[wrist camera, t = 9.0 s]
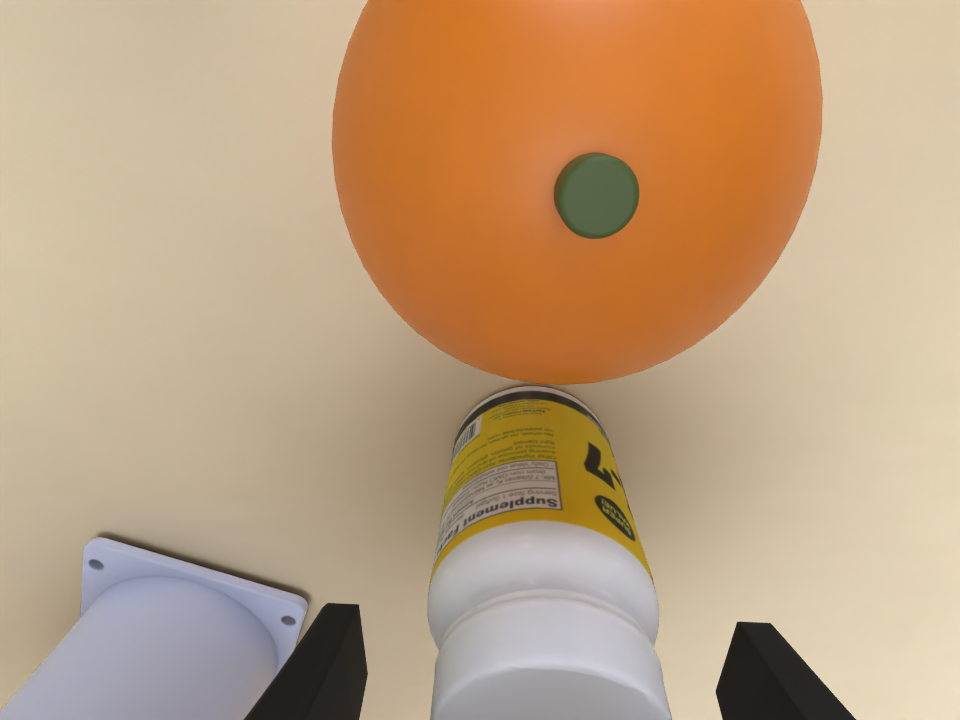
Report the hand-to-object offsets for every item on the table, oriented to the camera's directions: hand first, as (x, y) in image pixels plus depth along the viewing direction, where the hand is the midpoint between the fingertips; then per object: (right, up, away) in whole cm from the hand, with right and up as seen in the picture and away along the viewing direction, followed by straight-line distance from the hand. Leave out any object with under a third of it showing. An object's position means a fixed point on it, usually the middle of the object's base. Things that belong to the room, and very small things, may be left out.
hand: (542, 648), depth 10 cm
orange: (0, +11, +2) cm, 11 cm away
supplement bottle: (0, +3, +6) cm, 7 cm away
